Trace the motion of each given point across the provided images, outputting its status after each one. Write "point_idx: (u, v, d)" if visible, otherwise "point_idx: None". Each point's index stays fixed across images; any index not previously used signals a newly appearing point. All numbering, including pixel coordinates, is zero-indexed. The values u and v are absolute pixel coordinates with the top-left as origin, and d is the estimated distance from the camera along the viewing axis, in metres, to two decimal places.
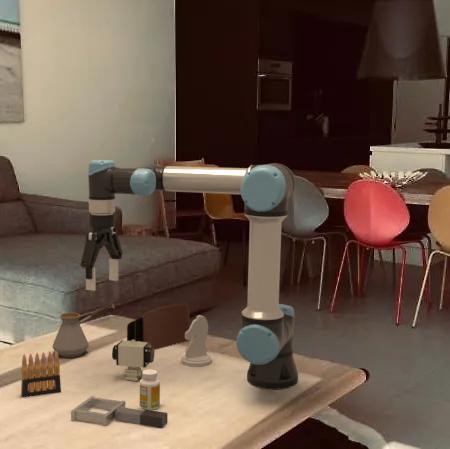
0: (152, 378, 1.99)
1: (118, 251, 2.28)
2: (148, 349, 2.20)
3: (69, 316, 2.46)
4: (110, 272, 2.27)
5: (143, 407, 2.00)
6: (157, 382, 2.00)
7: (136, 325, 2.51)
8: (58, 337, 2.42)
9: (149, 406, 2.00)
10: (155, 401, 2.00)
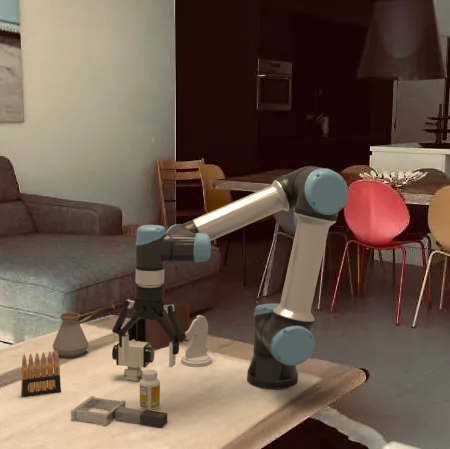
0: (152, 378, 1.99)
1: (177, 335, 1.96)
2: (148, 349, 2.20)
3: (69, 316, 2.46)
4: None
5: (143, 407, 2.00)
6: (157, 382, 2.00)
7: (138, 326, 2.50)
8: (58, 337, 2.42)
9: (149, 406, 2.00)
10: (155, 401, 2.00)
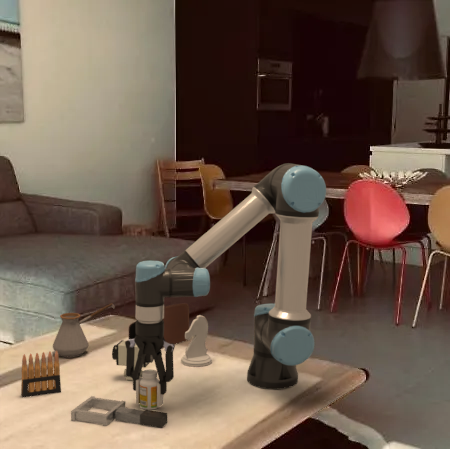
0: (152, 378, 1.99)
1: (166, 374, 1.99)
2: None
3: (69, 316, 2.46)
4: None
5: (143, 407, 2.00)
6: (157, 382, 2.00)
7: None
8: (58, 337, 2.42)
9: (149, 406, 2.00)
10: (155, 401, 2.00)
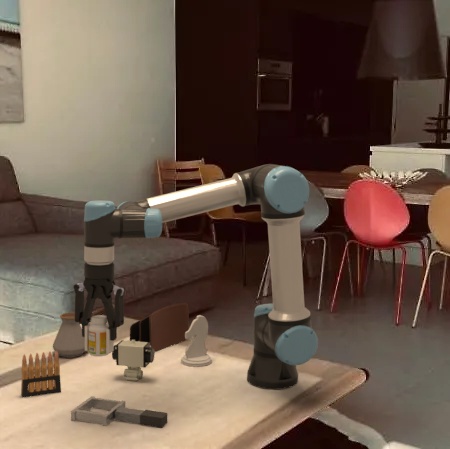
0: (101, 323, 1.91)
1: None
2: (148, 349, 2.20)
3: (69, 316, 2.46)
4: None
5: (92, 353, 1.92)
6: (107, 327, 1.92)
7: (141, 326, 2.49)
8: (58, 337, 2.42)
9: (98, 352, 1.91)
10: (104, 347, 1.92)
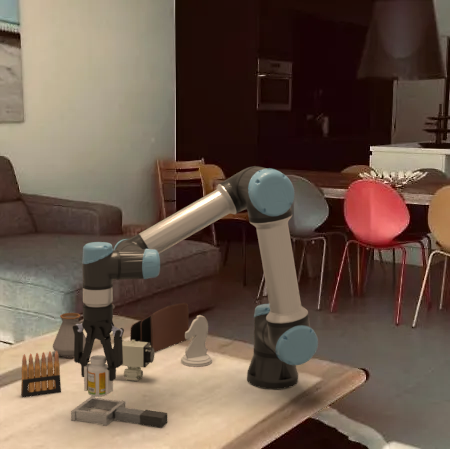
0: (100, 364, 1.92)
1: None
2: (148, 349, 2.20)
3: (69, 316, 2.46)
4: None
5: (91, 394, 1.93)
6: (106, 368, 1.93)
7: (142, 327, 2.49)
8: (58, 337, 2.42)
9: (97, 393, 1.92)
10: (104, 388, 1.93)
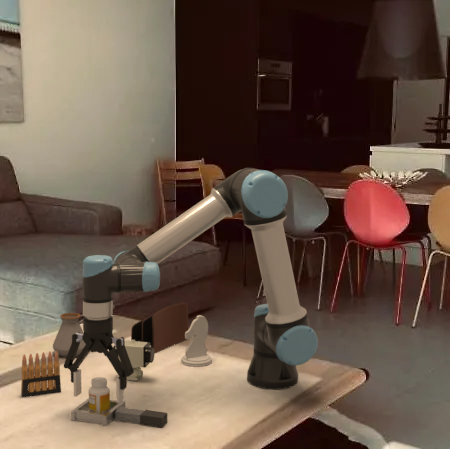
0: (101, 386, 1.93)
1: None
2: (148, 349, 2.20)
3: (69, 316, 2.46)
4: None
5: None
6: (106, 390, 1.94)
7: (143, 327, 2.48)
8: (58, 337, 2.42)
9: None
10: (105, 410, 1.94)
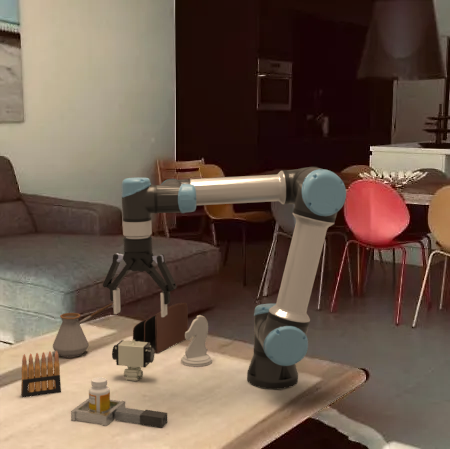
0: (101, 386, 1.93)
1: (167, 284, 1.98)
2: (148, 349, 2.20)
3: (69, 316, 2.46)
4: None
5: None
6: (107, 390, 1.94)
7: (145, 327, 2.48)
8: (58, 337, 2.42)
9: None
10: (105, 410, 1.94)
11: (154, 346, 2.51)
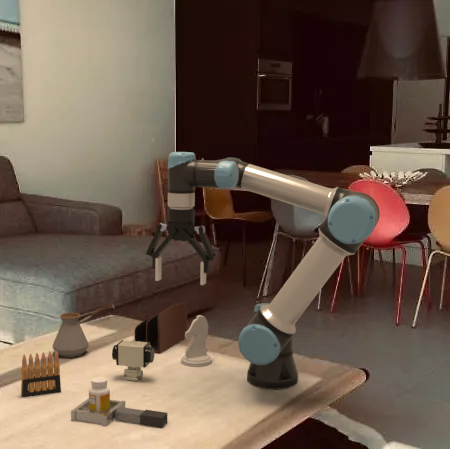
0: (101, 386, 1.93)
1: (208, 254, 2.09)
2: (148, 349, 2.20)
3: (69, 316, 2.46)
4: None
5: None
6: (107, 390, 1.94)
7: (147, 328, 2.48)
8: (58, 337, 2.42)
9: None
10: (105, 410, 1.94)
11: (156, 346, 2.51)
